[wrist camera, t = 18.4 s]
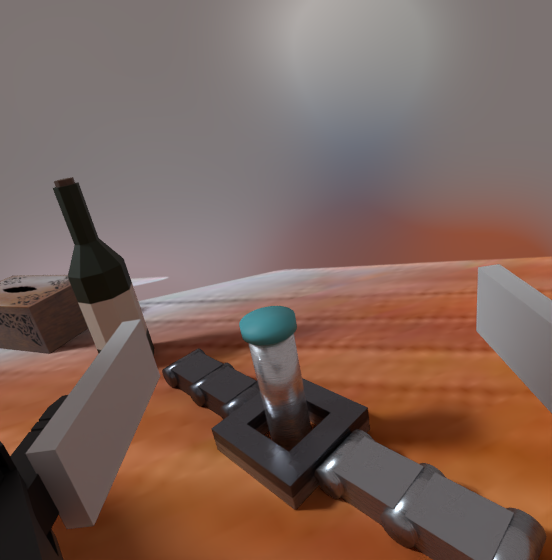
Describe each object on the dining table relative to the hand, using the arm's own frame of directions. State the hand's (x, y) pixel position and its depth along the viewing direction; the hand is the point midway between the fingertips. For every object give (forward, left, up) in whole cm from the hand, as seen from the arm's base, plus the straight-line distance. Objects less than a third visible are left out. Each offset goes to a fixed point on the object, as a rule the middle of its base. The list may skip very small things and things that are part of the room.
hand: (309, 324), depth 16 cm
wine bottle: (+8, +52, -25) cm, 59 cm away
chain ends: (+11, +17, -25) cm, 32 cm away
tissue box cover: (+2, +84, -26) cm, 88 cm away
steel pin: (+11, +17, -25) cm, 32 cm away
